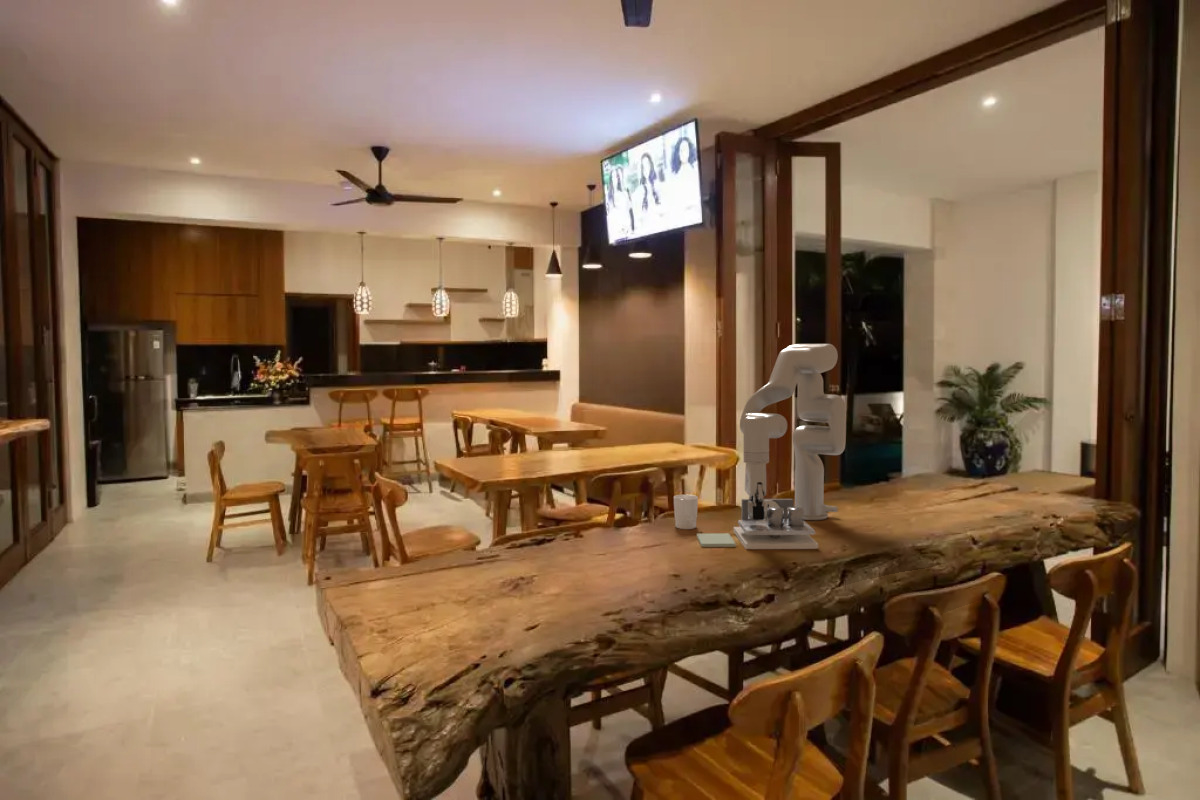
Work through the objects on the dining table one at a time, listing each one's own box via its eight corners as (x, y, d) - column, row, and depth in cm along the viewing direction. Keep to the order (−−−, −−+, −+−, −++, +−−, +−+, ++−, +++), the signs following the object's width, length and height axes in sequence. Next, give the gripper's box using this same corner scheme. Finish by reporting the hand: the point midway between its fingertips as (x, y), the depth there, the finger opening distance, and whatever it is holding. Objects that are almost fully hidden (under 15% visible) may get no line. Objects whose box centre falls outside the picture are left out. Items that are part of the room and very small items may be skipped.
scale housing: (799, 531, 239) (799, 498, 239) (817, 548, 218) (818, 513, 218) (733, 531, 240) (733, 498, 239) (745, 549, 219) (745, 513, 218)
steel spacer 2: (801, 523, 229) (801, 506, 229) (805, 527, 224) (806, 510, 224) (785, 523, 229) (785, 506, 229) (789, 527, 224) (789, 510, 224)
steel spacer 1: (781, 523, 229) (781, 506, 229) (785, 527, 224) (785, 510, 224) (765, 523, 229) (765, 507, 229) (768, 527, 224) (768, 510, 224)
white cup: (669, 525, 248) (669, 495, 248) (690, 523, 251) (690, 493, 251) (680, 530, 241) (680, 500, 240) (702, 528, 244) (702, 498, 243)
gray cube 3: (762, 516, 229) (762, 500, 229) (766, 520, 225) (766, 503, 224) (746, 516, 230) (746, 500, 229) (749, 520, 225) (749, 504, 224)
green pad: (728, 536, 233) (728, 533, 233) (735, 546, 221) (735, 543, 221) (696, 536, 233) (696, 533, 233) (701, 547, 221) (701, 543, 221)
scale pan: (802, 523, 234) (802, 519, 234) (815, 534, 220) (815, 530, 220) (738, 523, 234) (738, 520, 234) (746, 535, 220) (746, 530, 220)
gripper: (738, 453, 234) (738, 510, 235) (749, 462, 217) (749, 524, 219) (762, 452, 234) (762, 510, 235) (775, 461, 217) (775, 523, 218)
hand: (756, 516), depth 227 cm, fingers closed on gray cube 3, 5 cm apart
